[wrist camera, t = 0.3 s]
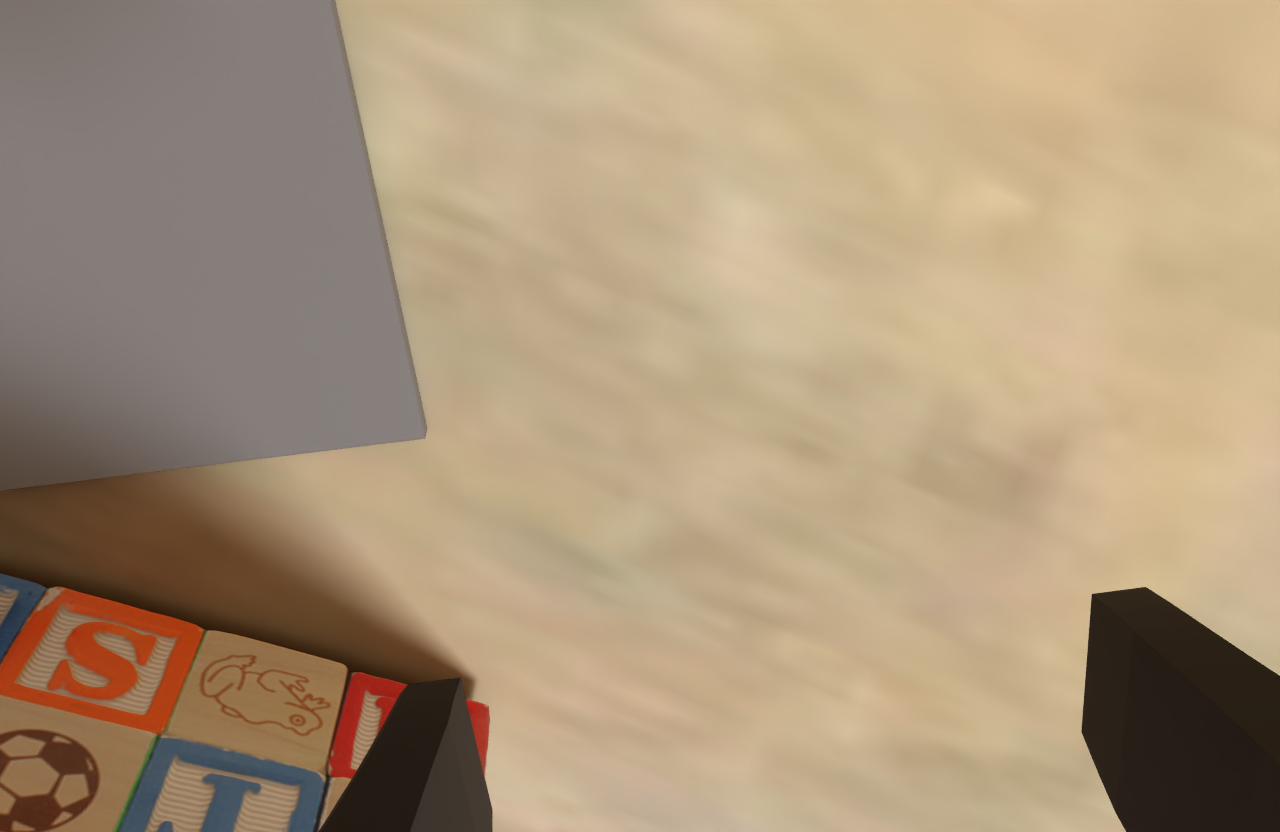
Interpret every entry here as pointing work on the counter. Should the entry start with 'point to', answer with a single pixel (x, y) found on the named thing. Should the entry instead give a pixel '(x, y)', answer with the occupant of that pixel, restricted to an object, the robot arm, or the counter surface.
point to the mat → (188, 242)
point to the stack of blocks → (172, 722)
